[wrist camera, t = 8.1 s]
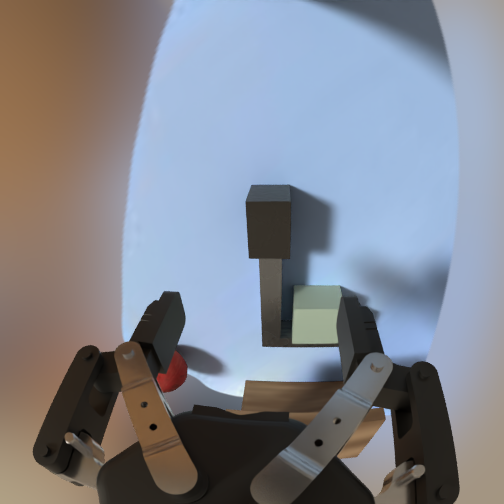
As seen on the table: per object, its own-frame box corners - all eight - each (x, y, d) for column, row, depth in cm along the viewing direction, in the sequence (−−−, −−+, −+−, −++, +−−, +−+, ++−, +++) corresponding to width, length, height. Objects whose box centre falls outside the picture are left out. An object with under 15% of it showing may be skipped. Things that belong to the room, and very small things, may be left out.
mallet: (251, 185, 25) (245, 201, 21) (378, 187, 24) (394, 204, 20) (258, 328, 34) (255, 355, 30) (353, 328, 33) (359, 355, 29)
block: (293, 284, 30) (294, 309, 27) (339, 284, 30) (345, 309, 26) (292, 318, 33) (292, 343, 29) (333, 318, 32) (337, 343, 29)
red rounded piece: (200, 350, 37) (186, 398, 31) (182, 367, 40) (168, 410, 33) (163, 329, 36) (143, 376, 29) (149, 348, 39) (130, 390, 32)
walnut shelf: (240, 333, 35) (223, 421, 24) (366, 333, 33) (385, 419, 22) (246, 385, 41) (235, 457, 30) (349, 385, 39) (356, 457, 28)
